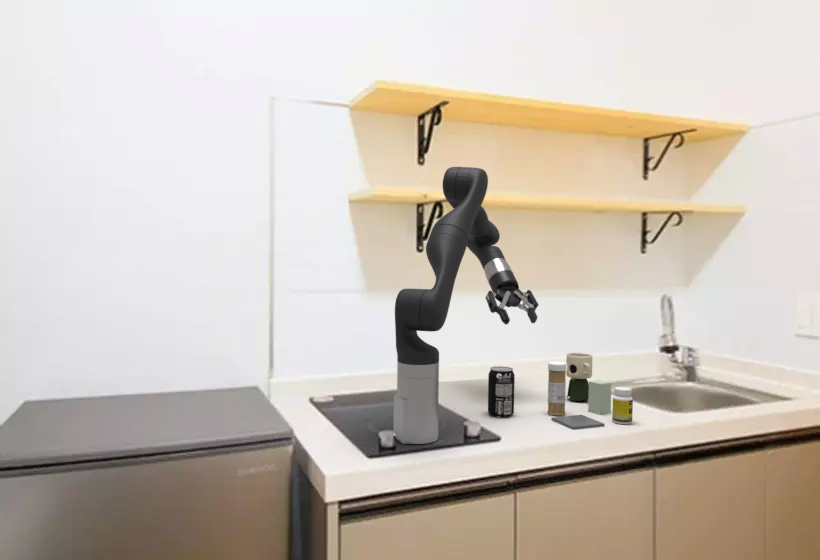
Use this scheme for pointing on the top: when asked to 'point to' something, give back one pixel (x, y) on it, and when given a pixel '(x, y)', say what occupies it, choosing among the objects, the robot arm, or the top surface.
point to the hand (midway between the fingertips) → (521, 322)
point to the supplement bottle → (622, 406)
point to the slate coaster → (577, 422)
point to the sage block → (599, 397)
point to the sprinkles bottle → (556, 388)
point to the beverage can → (501, 392)
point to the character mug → (579, 375)
